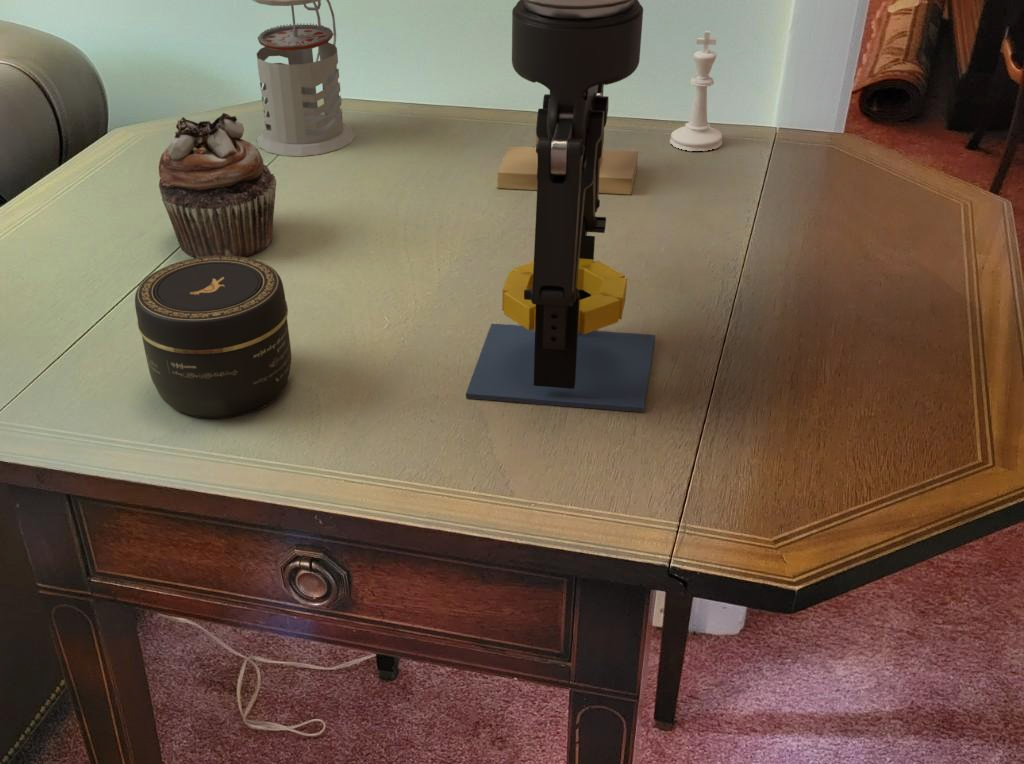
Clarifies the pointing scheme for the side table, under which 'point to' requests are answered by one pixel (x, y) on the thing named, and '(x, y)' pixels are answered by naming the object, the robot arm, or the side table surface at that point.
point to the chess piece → (699, 106)
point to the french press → (300, 88)
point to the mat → (599, 370)
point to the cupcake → (217, 190)
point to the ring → (591, 278)
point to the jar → (215, 335)
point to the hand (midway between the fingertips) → (562, 352)
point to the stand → (524, 162)
